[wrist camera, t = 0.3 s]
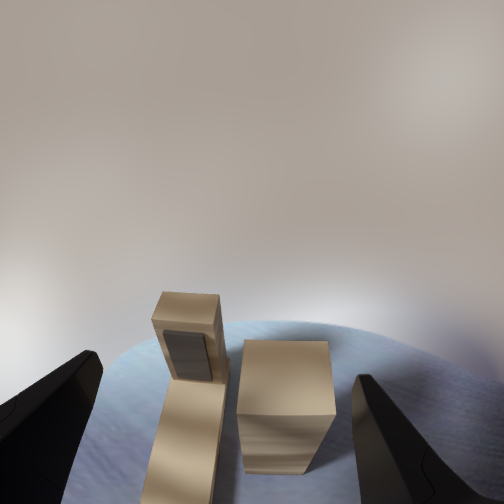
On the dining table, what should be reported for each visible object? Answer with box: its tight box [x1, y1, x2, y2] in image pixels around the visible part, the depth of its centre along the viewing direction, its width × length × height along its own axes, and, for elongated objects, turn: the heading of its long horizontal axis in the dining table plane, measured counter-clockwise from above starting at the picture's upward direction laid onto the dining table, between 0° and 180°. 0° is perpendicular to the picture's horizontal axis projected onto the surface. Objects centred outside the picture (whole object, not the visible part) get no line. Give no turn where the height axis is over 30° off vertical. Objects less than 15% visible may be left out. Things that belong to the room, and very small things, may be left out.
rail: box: [140, 292, 231, 504], centre depth 19 cm, size 16×5×10 cm, turn 177°
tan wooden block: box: [236, 339, 336, 475], centre depth 17 cm, size 5×4×12 cm
